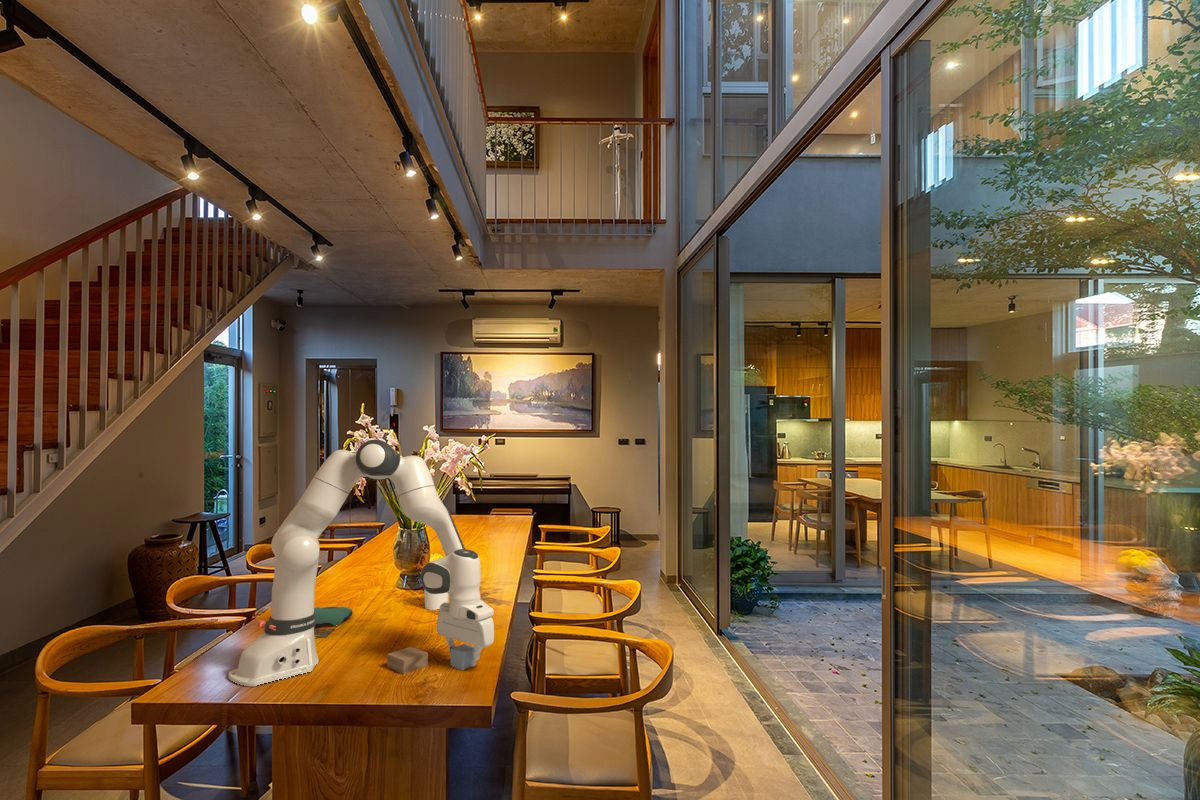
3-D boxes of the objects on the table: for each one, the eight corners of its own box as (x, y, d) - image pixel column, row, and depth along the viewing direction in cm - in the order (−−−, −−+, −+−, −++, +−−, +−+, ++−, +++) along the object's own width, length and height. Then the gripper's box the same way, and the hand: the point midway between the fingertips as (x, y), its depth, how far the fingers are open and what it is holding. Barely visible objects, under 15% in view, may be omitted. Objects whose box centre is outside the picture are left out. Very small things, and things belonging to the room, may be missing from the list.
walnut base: (403, 675, 172) (403, 660, 172) (386, 668, 177) (387, 653, 177) (427, 667, 178) (428, 652, 178) (411, 660, 183) (411, 646, 183)
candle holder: (418, 606, 236) (419, 574, 237) (442, 601, 243) (442, 570, 243) (430, 612, 229) (431, 579, 229) (454, 607, 235) (455, 575, 236)
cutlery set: (359, 611, 230) (359, 605, 230) (333, 640, 200) (333, 633, 200) (303, 612, 228) (303, 606, 228) (268, 642, 198) (268, 635, 198)
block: (462, 670, 175) (463, 652, 176) (450, 666, 178) (450, 648, 178) (475, 665, 180) (476, 647, 180) (463, 661, 182) (463, 643, 183)
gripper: (432, 603, 183) (431, 651, 183) (482, 616, 172) (481, 667, 171) (448, 598, 188) (447, 645, 188) (498, 610, 177) (497, 660, 176)
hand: (464, 656), depth 179 cm, fingers open, 8 cm apart
